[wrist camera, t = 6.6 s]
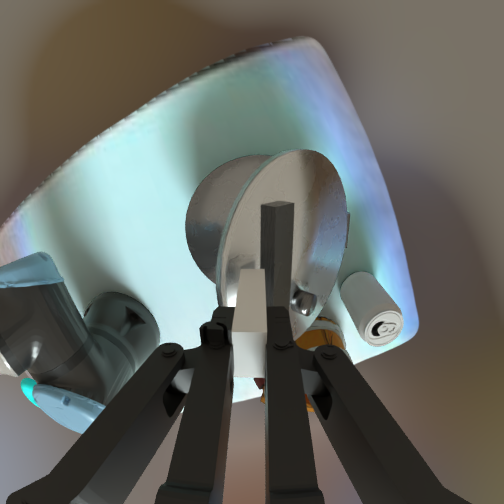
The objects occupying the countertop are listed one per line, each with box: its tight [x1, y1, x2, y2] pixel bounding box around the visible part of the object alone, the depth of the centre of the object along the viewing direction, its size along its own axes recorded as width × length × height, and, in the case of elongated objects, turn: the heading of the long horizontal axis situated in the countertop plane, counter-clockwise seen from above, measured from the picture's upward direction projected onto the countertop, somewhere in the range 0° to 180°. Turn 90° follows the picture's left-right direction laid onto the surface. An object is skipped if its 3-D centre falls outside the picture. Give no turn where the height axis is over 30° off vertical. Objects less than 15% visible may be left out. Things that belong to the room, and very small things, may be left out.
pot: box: [185, 155, 350, 284], centre depth 36 cm, size 18×24×10 cm
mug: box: [254, 317, 353, 412], centre depth 40 cm, size 11×16×15 cm, turn 82°
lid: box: [216, 149, 347, 341], centre depth 23 cm, size 17×17×2 cm
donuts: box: [21, 378, 39, 407], centre depth 50 cm, size 10×10×10 cm
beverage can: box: [340, 271, 403, 347], centre depth 37 cm, size 6×6×12 cm
